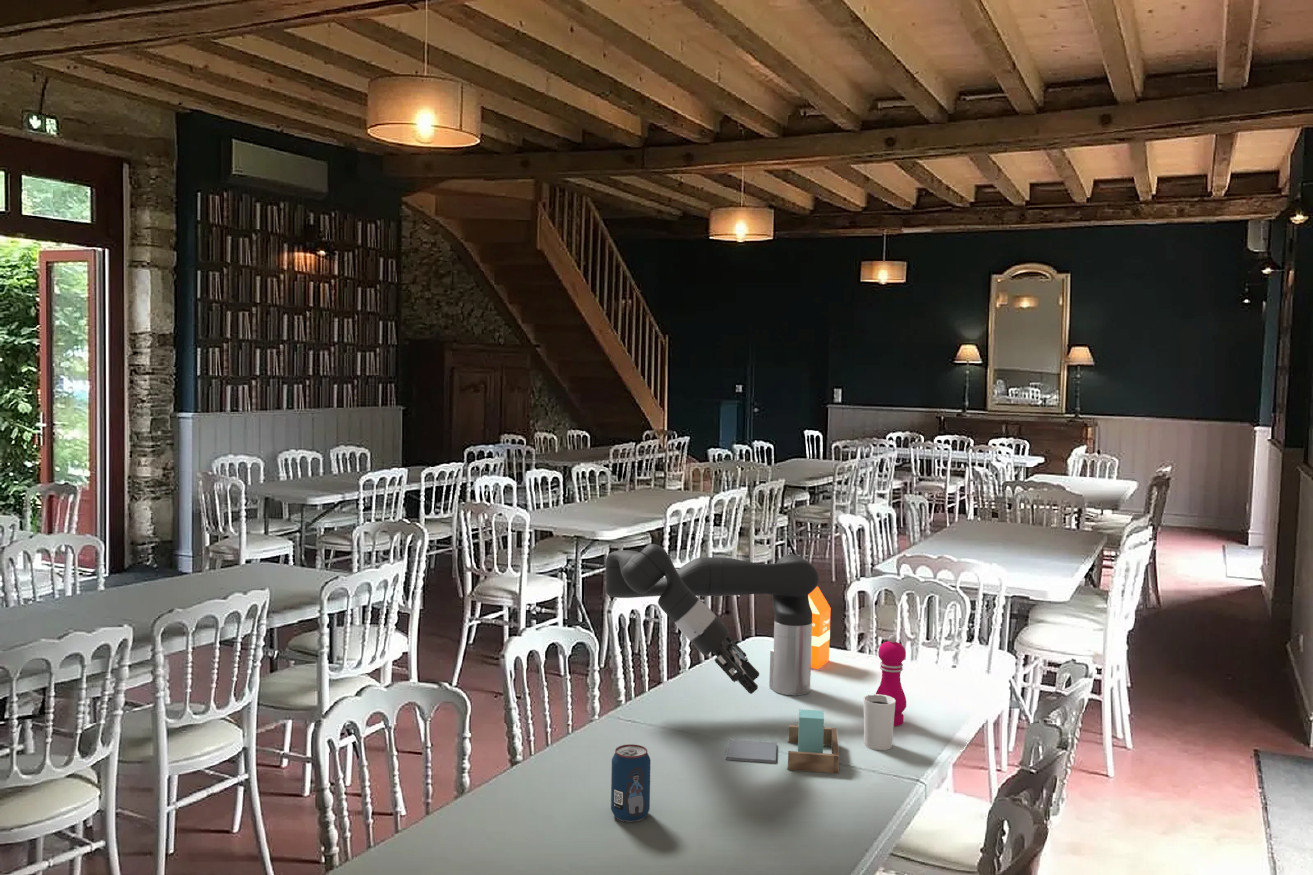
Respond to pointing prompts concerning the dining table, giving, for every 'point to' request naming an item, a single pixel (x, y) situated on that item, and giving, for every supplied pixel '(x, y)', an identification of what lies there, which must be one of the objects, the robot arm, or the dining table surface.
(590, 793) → the dining table surface
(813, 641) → the orange juice
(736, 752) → the slate mat
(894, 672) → the pepper mill
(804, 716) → the teal block
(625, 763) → the soda can
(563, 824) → the dining table surface
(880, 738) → the white paper cup
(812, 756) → the walnut cubby
